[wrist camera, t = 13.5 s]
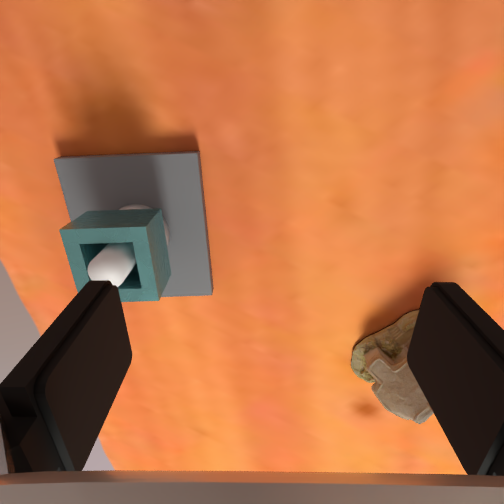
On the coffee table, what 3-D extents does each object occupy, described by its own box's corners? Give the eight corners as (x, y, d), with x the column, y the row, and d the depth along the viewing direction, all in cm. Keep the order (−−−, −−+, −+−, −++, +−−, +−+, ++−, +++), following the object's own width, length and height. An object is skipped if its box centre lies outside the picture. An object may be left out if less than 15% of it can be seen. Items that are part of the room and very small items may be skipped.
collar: (87, 210, 31) (59, 229, 27) (161, 208, 31) (145, 226, 27) (103, 276, 34) (80, 303, 30) (171, 274, 34) (158, 300, 30)
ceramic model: (394, 396, 48) (428, 466, 39) (336, 361, 45) (357, 427, 36) (474, 332, 43) (534, 394, 34) (414, 288, 40) (462, 343, 31)
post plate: (61, 156, 34) (-14, 178, 24) (199, 151, 33) (178, 171, 24) (98, 292, 40) (50, 352, 31) (213, 288, 40) (201, 347, 30)
